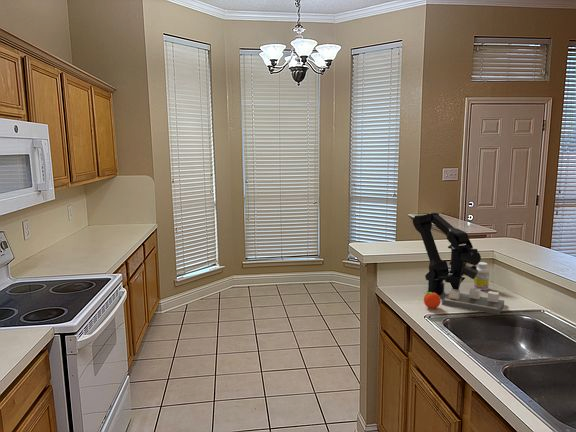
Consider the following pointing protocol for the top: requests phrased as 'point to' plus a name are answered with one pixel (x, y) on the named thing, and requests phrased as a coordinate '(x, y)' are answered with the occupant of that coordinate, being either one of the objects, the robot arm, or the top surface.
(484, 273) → the supplement bottle
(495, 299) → the tab right
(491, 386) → the top surface
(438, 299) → the red tomato
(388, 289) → the top surface
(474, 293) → the tab middle
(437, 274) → the robot arm
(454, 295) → the tab left
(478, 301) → the switch bank
